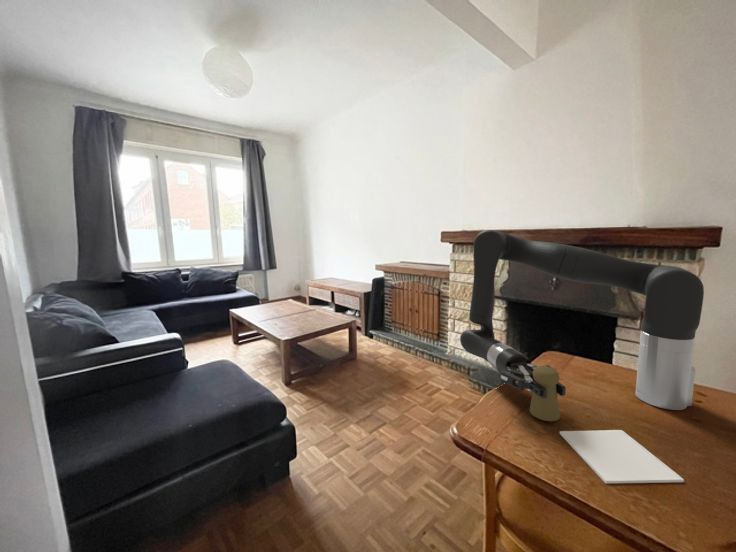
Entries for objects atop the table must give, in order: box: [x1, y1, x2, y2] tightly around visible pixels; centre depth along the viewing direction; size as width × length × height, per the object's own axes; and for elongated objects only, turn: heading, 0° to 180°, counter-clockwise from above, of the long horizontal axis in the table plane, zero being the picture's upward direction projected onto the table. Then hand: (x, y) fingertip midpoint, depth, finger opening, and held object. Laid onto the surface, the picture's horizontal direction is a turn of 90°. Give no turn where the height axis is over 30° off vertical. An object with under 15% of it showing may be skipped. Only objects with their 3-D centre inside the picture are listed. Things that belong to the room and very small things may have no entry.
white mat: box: [559, 429, 685, 484], centre depth 58 cm, size 13×13×1 cm
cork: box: [529, 365, 561, 422], centre depth 69 cm, size 6×6×11 cm
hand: (554, 392), depth 66 cm, fingers closed on cork, 4 cm apart
